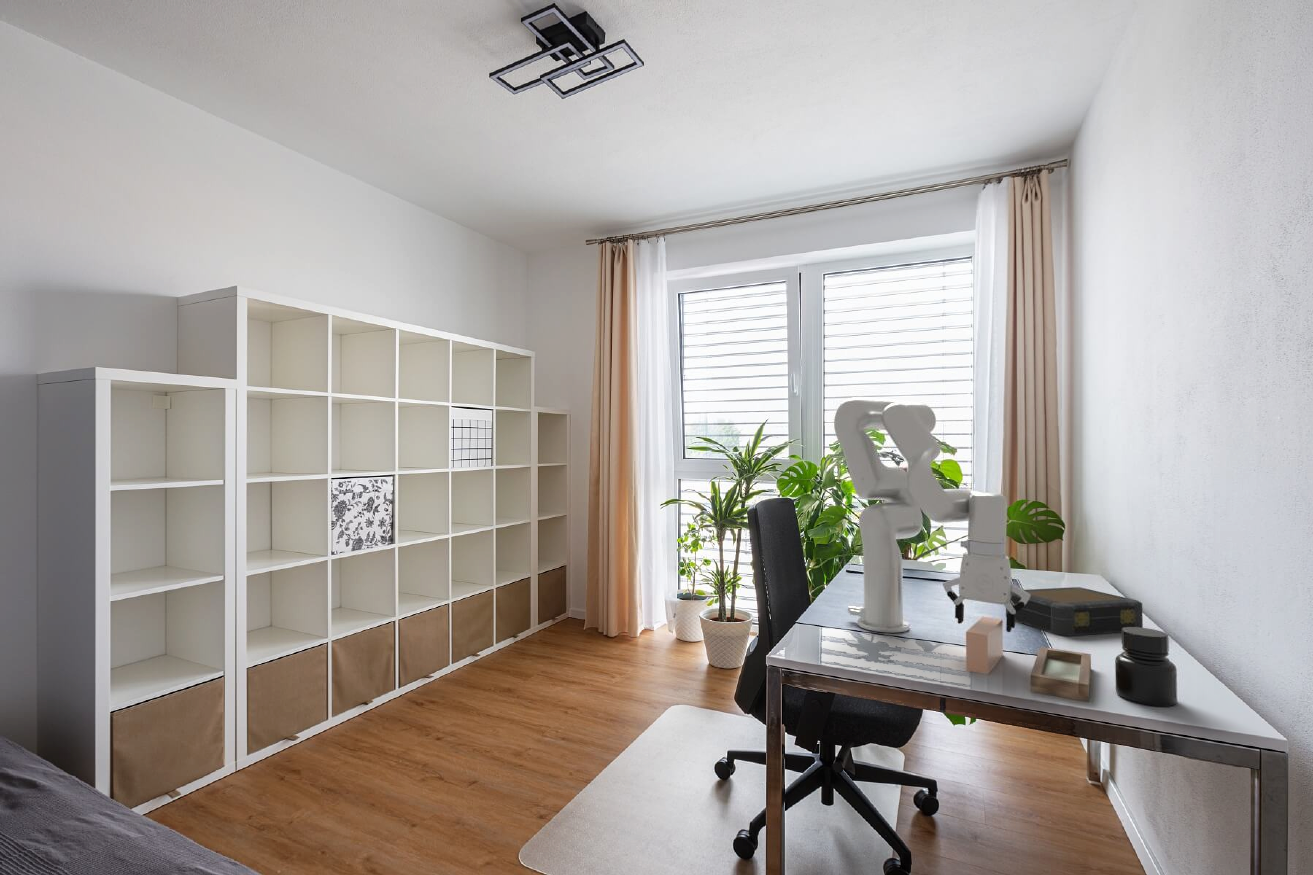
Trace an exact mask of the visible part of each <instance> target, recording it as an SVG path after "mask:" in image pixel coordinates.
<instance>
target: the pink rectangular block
mask: <svg viewBox="0 0 1313 875" xmlns="http://www.w3.org/2000/svg"><path fill="white" fill-rule="evenodd" d="M1003 623H1004V622H1003V619H1002V618H996V617H989V616H987V617H986V616H981V618H980V619H978V620H977V621H976V622H975V623H974V624H973V625H972V626H970V628H968V629H967V630H966V631H965V651H966V652H965V656H966V657H965V658H966V660H965V661H966V667H965V668H966V671H967V672H968V671H969V672H973V673H978V674H979V673H980V674H982V675H983V674H985V675H989V674H990V673H991V671H992V670H993V668H995V667H996V665H997V663H999V661H1000V660H1001V659H1002V657H1003V655H1004V644H1003V643H1004V641H1003V639H1004V635H1003V634H1004V633H1003V626H1004V625H1003Z"/></svg>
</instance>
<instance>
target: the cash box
mask: <svg viewBox="0 0 1313 875" xmlns="http://www.w3.org/2000/svg"><path fill="white" fill-rule="evenodd" d="M1023 590H1024V591H1025V592H1027V593H1029V594H1030V595H1031V597H1030V599H1029V600H1028V602H1027V603H1026V604H1025V606H1024V607H1023V608H1022V609H1020V610H1019V611H1017V612H1016V613H1015V622H1016V621H1018V623H1019V622H1021V623H1020V624H1023V623H1025V624H1024V625H1026V624H1027V625H1026V626H1029V625H1030V626H1029V627H1032V626H1034V627H1033V628H1035V627H1036V628H1035V629H1038V630H1040V631H1043V632H1044V631H1045V632H1047V633H1051V634H1054V635H1056V634H1057V635H1056V636H1060V637H1073V636H1074V637H1076V636H1077V637H1078V636H1080V637H1081V636H1090V635H1091V636H1092V635H1093V636H1094V635H1106V634H1117V633H1118V634H1119V633H1121V634H1122V628H1125V627H1140V628H1144V627H1143V626H1144V623H1143V620H1144V619H1143V603H1142V602H1141V601H1139V600H1137V599H1134V598H1129V597H1124V596H1121V595H1116V594H1111V593H1106V592H1103V591H1099V590H1098V591H1097V590H1093V589H1091V588H1085V587H1079V586H1072V587H1070V586H1069V587H1053V588H1052V587H1051V588H1038V589H1037V588H1035V589H1034V588H1033V589H1030V588H1029V589H1023ZM1010 600H1011V601H1012V602H1013V603H1014V605H1015V604H1017V603H1018V602H1019V601H1020V600H1021V596H1019V595H1017V594H1016V593H1014V592H1013V591H1012V596H1011V599H1010ZM1007 613H1008V609H1007V608H1006V607H1005V617H1006V619H1007Z"/></svg>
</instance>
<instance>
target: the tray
mask: <svg viewBox="0 0 1313 875" xmlns="http://www.w3.org/2000/svg"><path fill="white" fill-rule="evenodd" d="M1091 656H1092V655H1091V653H1085V652H1079V651H1078V652H1077V651H1071V650H1066V649H1065V650H1064V649H1058V648H1052V647H1046V646H1045V647H1044V646H1040V647H1039V650H1038V652H1037V655H1036V658H1035V662H1034V664H1033V667H1032V669H1031V673H1030V692H1033V693H1039V694H1044V695H1049V696H1055V697H1061V698H1065V699H1072V700H1077V701H1082V702H1088V703H1089V702H1090V688H1091V673H1092V662H1091V661H1092V659H1091Z"/></svg>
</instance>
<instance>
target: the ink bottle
mask: <svg viewBox="0 0 1313 875" xmlns="http://www.w3.org/2000/svg"><path fill="white" fill-rule="evenodd" d="M1169 639H1170V638H1169V634H1168V633H1167V632H1164V631H1161V630H1157V629H1154V628H1149V627H1143V628H1140V627H1125V628H1122V633H1121V645H1122V646H1121V649H1122V650H1123V651H1122V652H1120V654H1118V655H1117V656H1116V657H1115V660H1114V662H1115V664H1114V666H1115V667H1114V668H1115V669H1114V670H1115V671H1114V673H1115V692H1116V694H1117V695H1118V696H1120V697H1122V698H1123V699H1126V700H1128V701H1132V702H1134V703H1138V704H1141V705H1146V706H1155V707H1170V706H1174V705H1176V704H1178V673H1177V667H1176V665H1175V664H1174V663H1173V661H1171V660H1170V659H1169V658H1168V656H1169V651H1170V650H1169V647H1170V645H1169V644H1170V642H1169Z"/></svg>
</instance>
